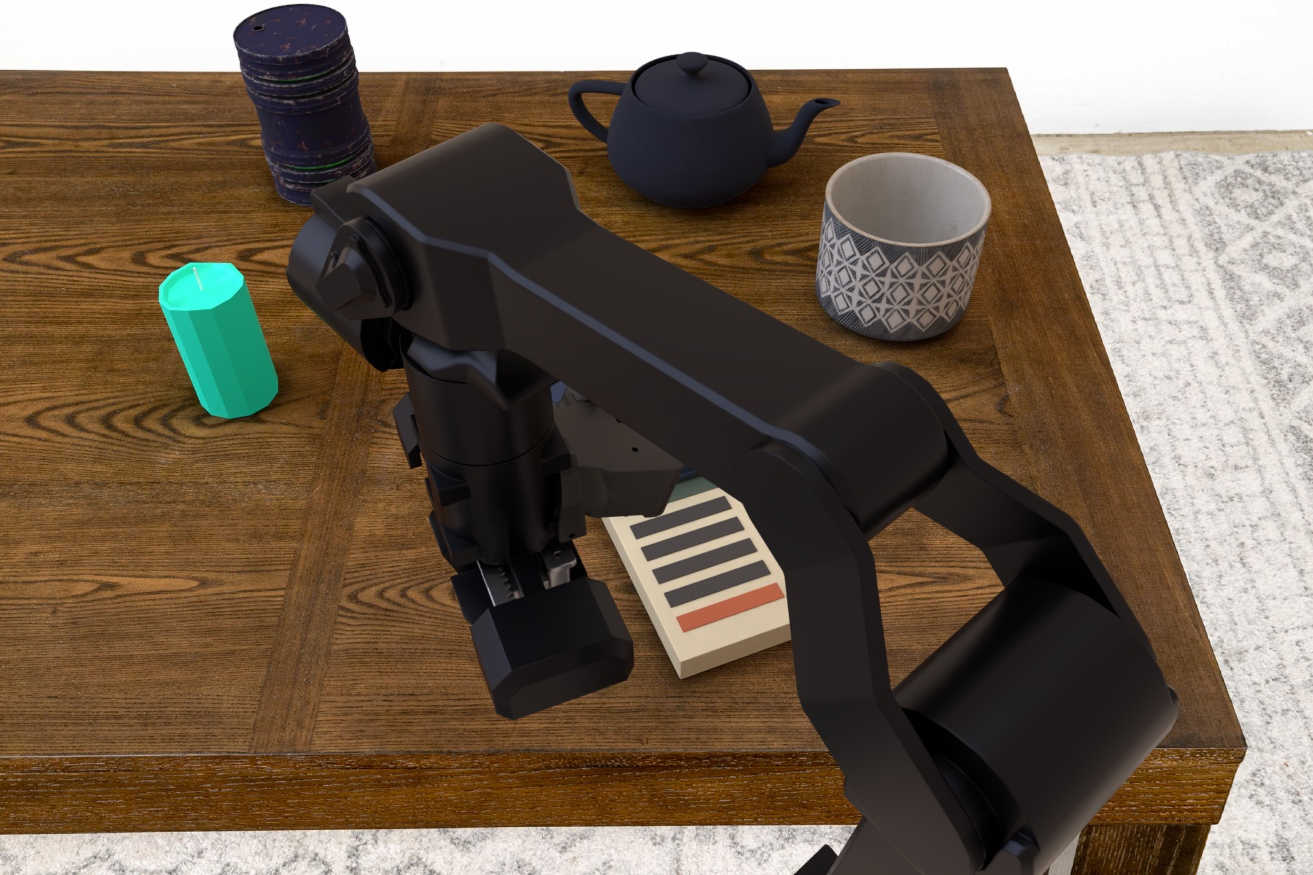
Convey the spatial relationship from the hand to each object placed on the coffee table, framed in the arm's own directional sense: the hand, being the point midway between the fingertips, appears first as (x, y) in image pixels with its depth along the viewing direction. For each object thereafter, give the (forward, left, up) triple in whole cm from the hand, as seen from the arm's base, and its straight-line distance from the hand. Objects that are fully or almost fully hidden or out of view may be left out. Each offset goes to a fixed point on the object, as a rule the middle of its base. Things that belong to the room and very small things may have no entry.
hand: (520, 629), depth 60 cm
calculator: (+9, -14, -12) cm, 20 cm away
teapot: (+51, -33, -12) cm, 62 cm away
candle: (+38, +12, -12) cm, 42 cm away
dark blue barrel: (+65, 0, -12) cm, 66 cm away
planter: (+28, -40, -12) cm, 50 cm away
